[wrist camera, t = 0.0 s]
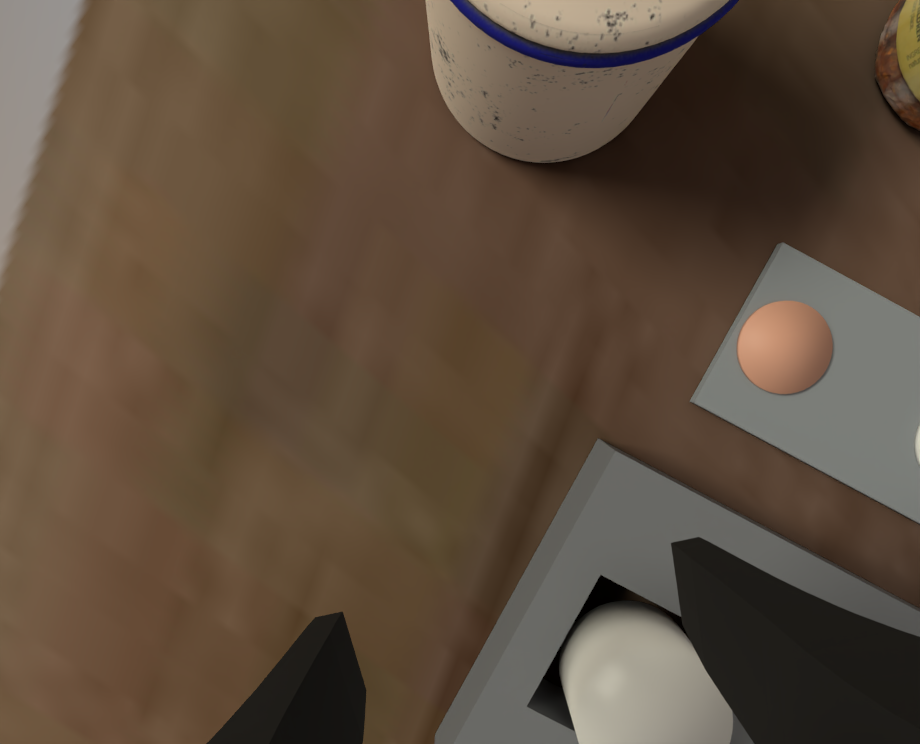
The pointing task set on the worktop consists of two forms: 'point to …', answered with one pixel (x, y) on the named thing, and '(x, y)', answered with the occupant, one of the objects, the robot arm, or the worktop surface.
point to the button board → (634, 567)
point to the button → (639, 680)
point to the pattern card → (825, 378)
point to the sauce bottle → (901, 61)
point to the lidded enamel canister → (557, 67)
